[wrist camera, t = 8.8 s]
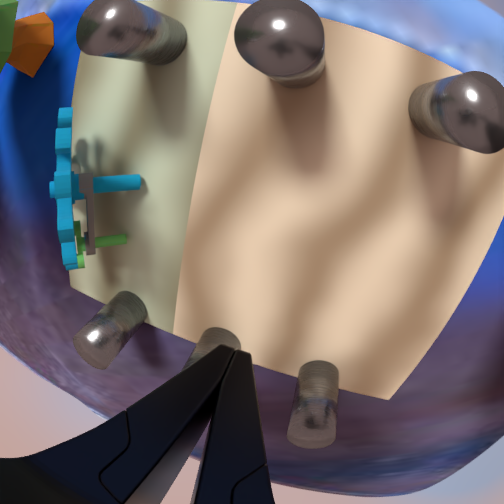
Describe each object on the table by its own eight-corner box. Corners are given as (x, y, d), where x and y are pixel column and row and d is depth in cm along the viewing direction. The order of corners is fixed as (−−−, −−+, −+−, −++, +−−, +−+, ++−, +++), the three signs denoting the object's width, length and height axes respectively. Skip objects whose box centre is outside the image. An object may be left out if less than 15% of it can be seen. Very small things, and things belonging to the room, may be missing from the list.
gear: (55, 93, 16) (37, 140, 10) (135, 91, 19) (170, 134, 13) (58, 225, 22) (64, 318, 16) (123, 218, 25) (152, 303, 19)
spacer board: (530, 120, 12) (534, 120, 11) (388, 396, 23) (388, 399, 22) (95, 6, 14) (92, 5, 14) (73, 284, 26) (70, 286, 25)
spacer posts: (465, 98, 12) (521, 96, 7) (329, 391, 23) (323, 452, 18) (148, 18, 14) (85, -3, 9) (116, 314, 25) (76, 357, 20)
